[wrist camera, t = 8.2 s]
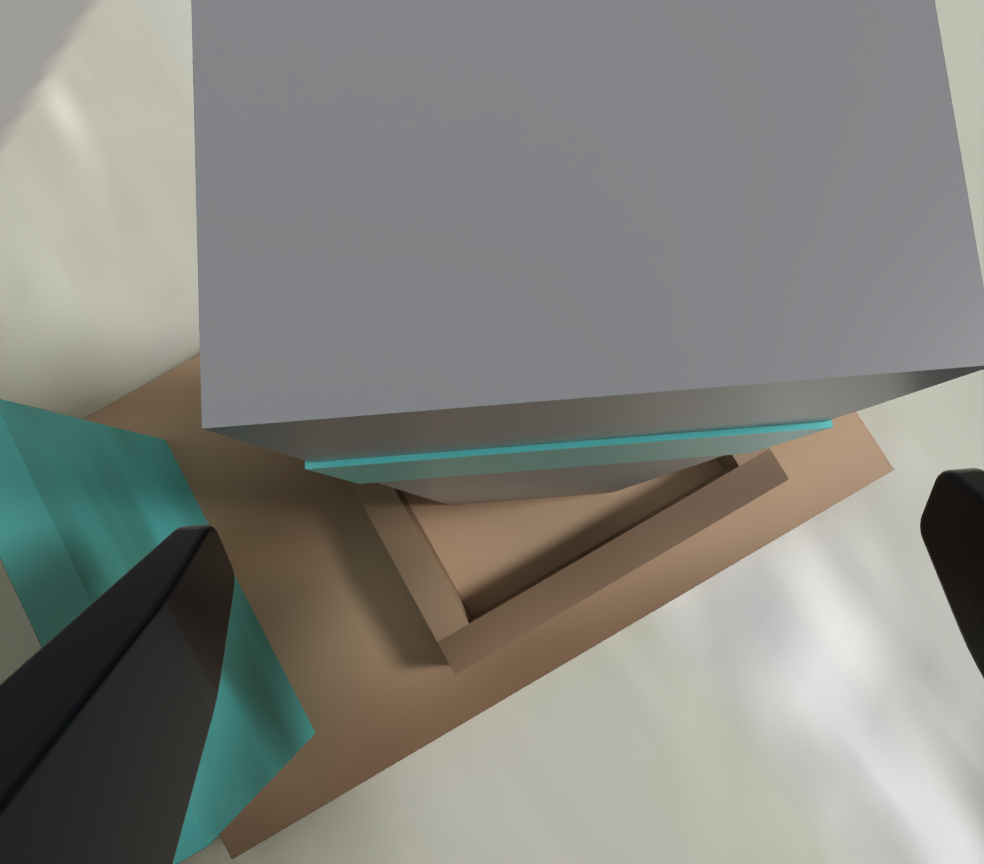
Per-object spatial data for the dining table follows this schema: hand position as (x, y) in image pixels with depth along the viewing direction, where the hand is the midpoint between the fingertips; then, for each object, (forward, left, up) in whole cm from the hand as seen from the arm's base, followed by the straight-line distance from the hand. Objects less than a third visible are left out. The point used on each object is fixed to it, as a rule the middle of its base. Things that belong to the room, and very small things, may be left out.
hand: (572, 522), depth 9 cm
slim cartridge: (+3, -1, -8) cm, 9 cm away
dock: (+2, +1, -9) cm, 10 cm away
